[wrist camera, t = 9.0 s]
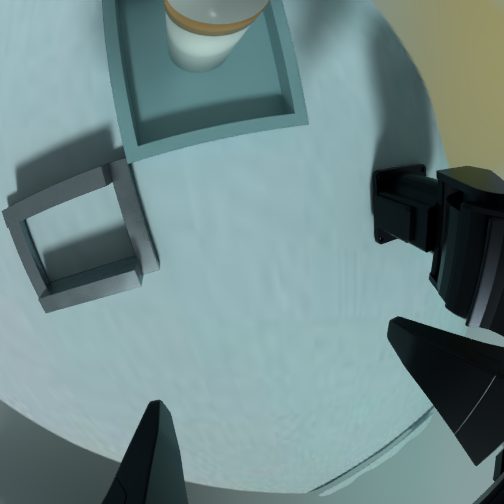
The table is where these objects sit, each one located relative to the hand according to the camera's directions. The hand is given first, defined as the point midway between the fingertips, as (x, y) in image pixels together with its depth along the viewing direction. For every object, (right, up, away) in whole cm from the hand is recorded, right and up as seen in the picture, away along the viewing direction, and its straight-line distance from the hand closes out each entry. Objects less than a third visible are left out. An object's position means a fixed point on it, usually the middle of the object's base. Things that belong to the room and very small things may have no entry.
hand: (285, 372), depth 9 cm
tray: (-5, +17, +5) cm, 18 cm away
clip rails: (-13, +5, +7) cm, 16 cm away
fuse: (-4, +17, +4) cm, 18 cm away
